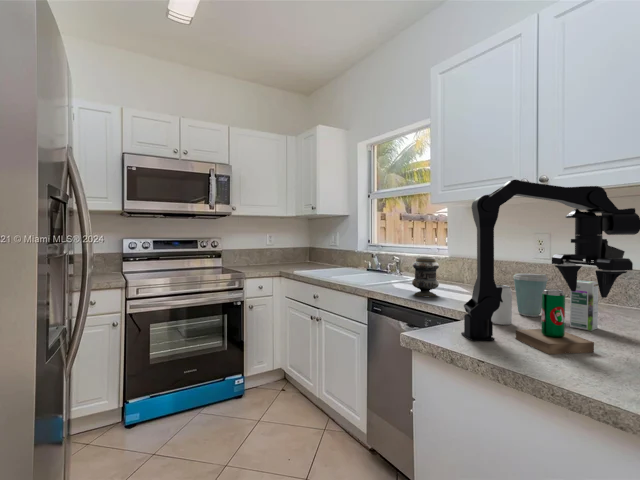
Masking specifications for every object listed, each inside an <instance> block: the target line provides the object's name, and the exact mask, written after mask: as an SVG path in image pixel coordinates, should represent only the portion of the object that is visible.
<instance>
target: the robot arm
mask: <svg viewBox="0 0 640 480" xmlns="http://www.w3.org/2000/svg"><path fill="white" fill-rule="evenodd" d="M514 196H516V197H523V198H529V199H535V200H536V199H537V200H543V201H550V202H557V203H561V204H563V205H565V206H567V207H569V208H573V209H572V210H571V211H570V212H569V213H568V214H567V215H565V219H574V238H571V239H570V243H571V244H574V253H572V254H571V253H554V254H553V255H552V257H551V264H552V265H554V267H555V268H557V269H558V271H559V273H560V274H561V276H562V277H563V279H564V281H565V282H566V284H567V286H568V288H569V289H570V290H571V291H576V287H577V280H578V274H579V273H578V272H579V271H580V270H581V269H582V265H585V266H594V267H596V268H597V269H598V270H595V275H596V279H597V281H596V282H598V292H599V294H600V297H601V298H604V299H605V298H607V297H608V296H609V293H610V291H611V290H612V287H613V286H614V283H615V282H616V280H617V278H619V277H620V276H621V275H623V274H627V272H628V271H634V270H633V269H634V267H633V265H634V263H633V261H632V260H631V259H630V258H629V257H628V258H627V257H626V258H625V257H624V255H625V252H626V251H625V250H623V249H620V248H618V247H615V246H611V245H609V241H608V239H607V238H603V237H604V235H603V232H604V234H606V235H607V236H623V235H624V236H628V235H629V236H630V235H632V236H634V235H637V234H638V233H639V232H640V216H639V214H638V213H637V212H636V208H635V207H629V208H623V209H621V208H620V209H619V208H618V207H617V206H616V205H615V204H614V202H613V201H612V200H611V199H610V198H609V197H608V193H607V192H606V190H605V188H603V187H601V186H599V185H598V186H597V185H588V186H587V185H586V186H585V185H583V186H560V185H551V184H545V183H538V182H531V181H522V180H520V179H511V180H510V181H507V182H506V183H504V185H502V186H500V187H499V188H497V189H496V190H494V191H492V192H491V193H489V194H485V195H481V196H478V197H477V198H475V200H473V201H472V203H471V213H472V217H473V221H474V224H475V227H476V275H477V276H476V280H475V283H474V286H473V289H472V295H471V298H470V299H469V300H467V302H466V303H464V304H463V308H464V310H465V312H466V314H465V313H464V315H463V318H464V319H463V323H464V324H463V325H464V327H463V328H464V329H463V330H464V331H463V332H461V333H460V334H461V335H462V336H463V337H465V338H467V339H468V340H470V341H472V342H479V341H480V342H481V341H482V342H483V341H485V342H486V341H495V340H496V339H495V337H493V336H494V335H493V334H494V333H493V331H494V330H493V329H494V327H493V325H494V324H493V322H492V321H491V318H492V315H493V313H494V312H495V311H496V310H497V309H499V307H500V302H503V301H502V297H501V294H502V287H501V286H499V285H500V284H497V283H496V281H495V226H496V223H497V220H498V217H499V212H500V207H501V206H502V205H504V204H505V203H507V202H508V201H509V200H511V199H513V197H514ZM598 214H599V215H598ZM600 214H601V215H600Z"/></svg>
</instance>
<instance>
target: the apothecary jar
mask: <svg viewBox="0 0 640 480" xmlns="http://www.w3.org/2000/svg"><path fill="white" fill-rule="evenodd" d="M412 268H413V269H414V271H415V273H414V279H412V281H411V284H412V286H413V287H414V288H417V289H418V290H420V291H417V292H415V293H414V296H416V295H417V296H416V297H421V296H429V297H428V298H431V297H430V296H435V297H437V294H436V293H434V292H432V291H433V290H435V289H438V287H439V285H440V282H439V280H437V270H438V269H439V268H440V264H439V263H438V261H437V260H436V257H434V256H428V255H427V256H424V255H423V256H422V255H421V256H419V255H418V256H416V258H415V261H414V262H413V263H412Z"/></svg>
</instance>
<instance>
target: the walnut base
mask: <svg viewBox="0 0 640 480" xmlns="http://www.w3.org/2000/svg"><path fill="white" fill-rule="evenodd" d="M515 339H516V340H518V341H520V342H522V343H523V344H526V345H528V346H530V347H533V348H535V349H537V350H538V351H541V352H543V353H545V354H547V355H558V354H562V355H563V354H587V353H590V354H591V353H595V342H594V341H592V340H589V339H587V338H584V337H580V336H577V335H574V334H572V333H569V332H566V331H565V336H564V337H562V338H551V337H547V336H544V335H543V334H542V332H541V328H531V329H530V328H529V329H527V328H526V329H515Z"/></svg>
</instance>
